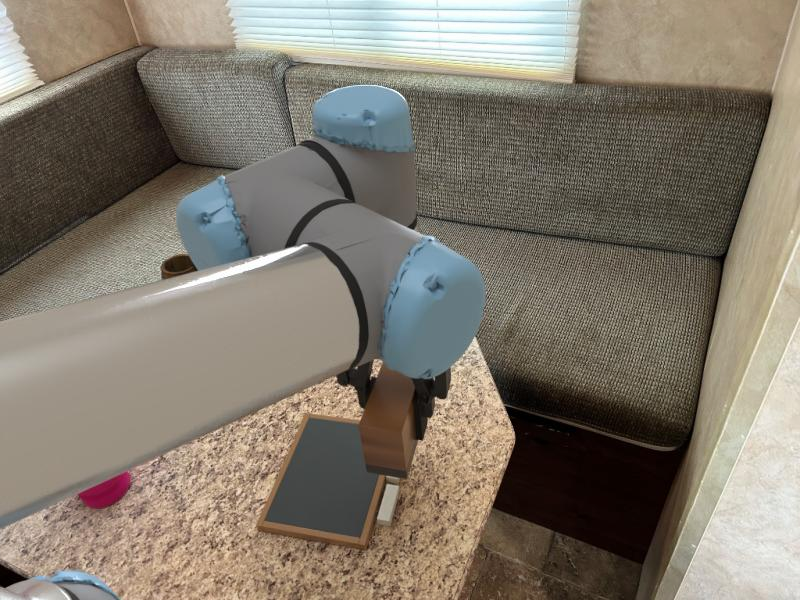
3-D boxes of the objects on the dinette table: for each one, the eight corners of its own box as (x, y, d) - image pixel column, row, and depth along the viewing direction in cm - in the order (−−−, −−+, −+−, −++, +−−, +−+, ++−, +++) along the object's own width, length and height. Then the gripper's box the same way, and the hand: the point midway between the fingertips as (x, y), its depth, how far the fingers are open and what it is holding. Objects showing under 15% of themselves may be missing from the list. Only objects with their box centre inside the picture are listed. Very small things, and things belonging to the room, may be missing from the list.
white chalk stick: (386, 482, 79) (398, 484, 78) (385, 476, 78) (397, 478, 78) (396, 450, 82) (407, 452, 82) (395, 445, 82) (406, 447, 81)
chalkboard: (366, 550, 72) (364, 545, 71) (257, 530, 75) (255, 525, 74) (400, 430, 85) (399, 424, 84) (307, 417, 88) (305, 412, 88)
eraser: (407, 479, 65) (401, 432, 60) (366, 472, 66) (357, 425, 61) (430, 397, 74) (427, 350, 69) (394, 392, 75) (388, 345, 70)
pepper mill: (110, 518, 78) (39, 417, 65) (66, 504, 80) (-10, 404, 67) (145, 472, 83) (86, 370, 71) (103, 460, 85) (38, 359, 73)
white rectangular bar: (377, 524, 74) (390, 526, 74) (376, 519, 74) (389, 521, 73) (387, 489, 78) (400, 491, 78) (387, 483, 77) (399, 485, 77)
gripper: (482, 247, 56) (480, 413, 70) (304, 233, 60) (337, 393, 75) (469, 298, 50) (470, 466, 65) (274, 279, 54) (316, 441, 69)
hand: (399, 427), depth 70 cm, fingers closed on eraser, 5 cm apart
